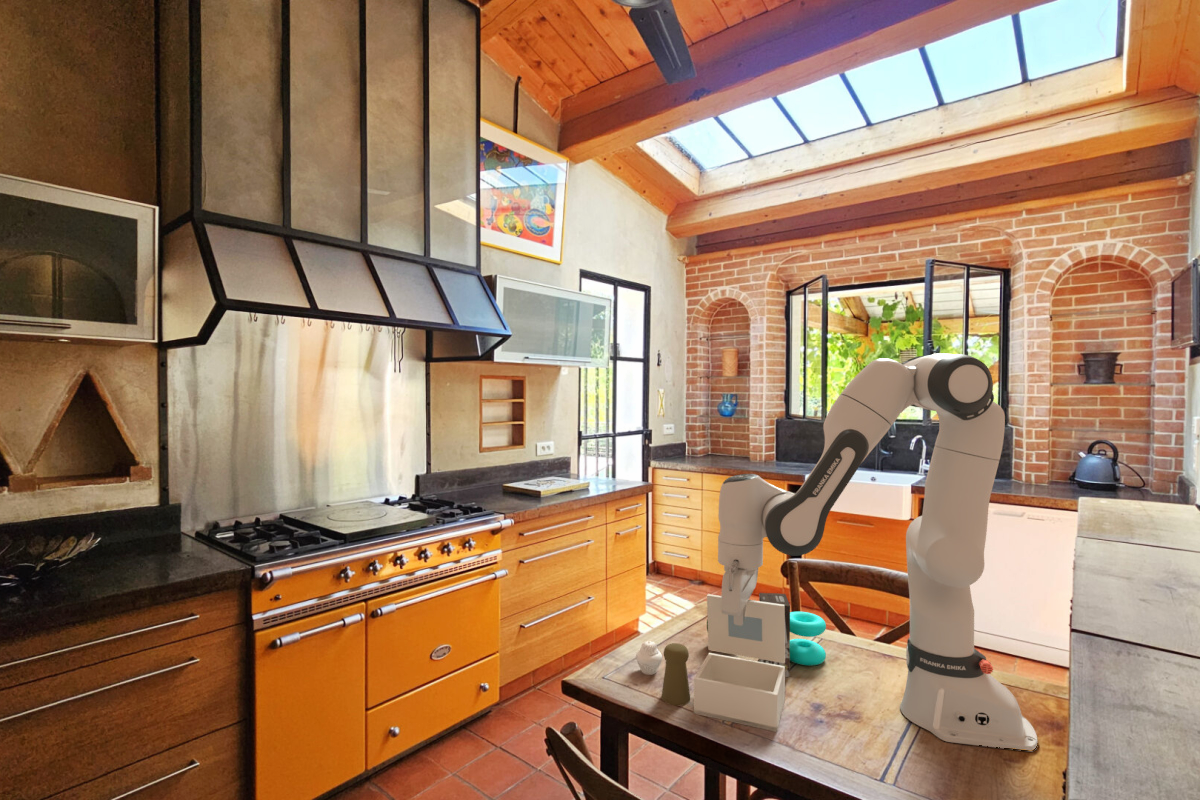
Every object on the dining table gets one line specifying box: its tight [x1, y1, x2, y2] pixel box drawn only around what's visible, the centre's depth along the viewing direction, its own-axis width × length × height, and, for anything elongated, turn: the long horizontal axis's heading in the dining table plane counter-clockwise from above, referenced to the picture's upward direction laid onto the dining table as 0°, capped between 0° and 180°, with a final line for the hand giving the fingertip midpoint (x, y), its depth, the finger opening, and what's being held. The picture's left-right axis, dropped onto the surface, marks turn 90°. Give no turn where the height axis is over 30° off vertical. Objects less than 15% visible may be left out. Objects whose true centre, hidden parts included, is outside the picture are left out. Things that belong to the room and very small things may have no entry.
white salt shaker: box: [635, 640, 663, 676], centre depth 136 cm, size 6×6×7 cm
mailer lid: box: [706, 593, 785, 663], centre depth 126 cm, size 16×13×1 cm
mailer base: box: [693, 652, 786, 733], centre depth 121 cm, size 16×13×7 cm
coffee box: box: [758, 592, 791, 678], centre depth 138 cm, size 9×6×16 cm
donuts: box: [790, 611, 827, 666], centre depth 143 cm, size 10×10×10 cm
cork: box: [661, 642, 691, 706], centre depth 124 cm, size 6×6×11 cm
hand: (739, 622), depth 120 cm, fingers closed
